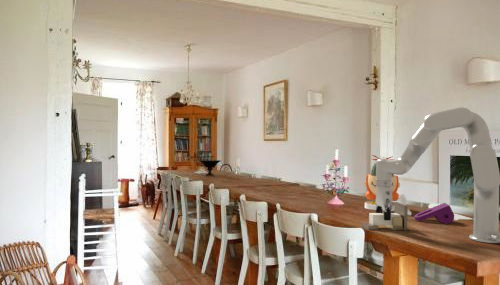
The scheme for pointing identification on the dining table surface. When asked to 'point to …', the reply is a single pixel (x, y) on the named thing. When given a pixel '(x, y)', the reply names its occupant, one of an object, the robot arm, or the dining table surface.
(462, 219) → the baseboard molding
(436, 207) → the mounting bracket
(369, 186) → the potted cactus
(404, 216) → the cup bracket
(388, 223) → the cream rail
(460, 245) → the dining table surface
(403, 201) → the seated beast figurine
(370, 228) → the rest block
